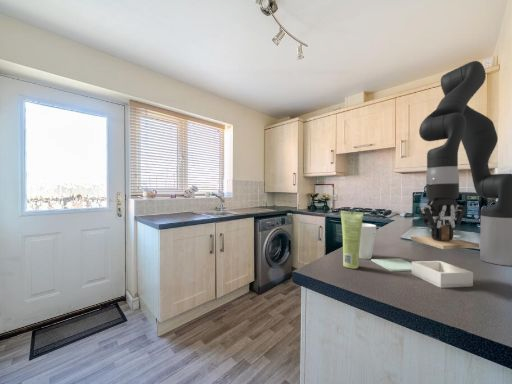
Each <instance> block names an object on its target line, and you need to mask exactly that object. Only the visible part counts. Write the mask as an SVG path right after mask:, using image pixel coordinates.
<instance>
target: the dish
mask: <svg viewBox="0 0 512 384" xmlns="http://www.w3.org/2000/svg"><path fill="white" fill-rule="evenodd" d="M411 263H412V271H411V275H413V276H416V277H417V278H419V279H421V280H424V282H425V281H426V282H427V283H430V284H431V285H434V286H436V287H438V288H441V289H442V288H443V289H444V288H446V289H447V288H464V287H465V288H468V287H469V288H470V287H474V272H473V271H470V270H468V269H465V268H462V267H460V266H456V265H453V264H450V263H447V262H445V261H442V260H426V261H425V260H422V261H421V260H420V261H411Z"/></svg>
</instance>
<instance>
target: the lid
mask: <svg viewBox="0 0 512 384" xmlns="http://www.w3.org/2000/svg"><path fill="white" fill-rule="evenodd" d="M440 228H441V240H440V241H437V240H433V238H432V236H431V235H425V236H424V235H423V236H421V235H420V236H410V240H411V241H413V242H416V243H420V244H423V245H424V244H425V245H427V246H431V247H433V248H438V249H441V250H455V249H456V250H457V249H473V248H479V249H480V244H479V243H477V242H476V243H475V242H472V241H468V240H462V239H458V238H454V237H453V239H452V240H449V226H447V225H444V224H441V227H440Z"/></svg>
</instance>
